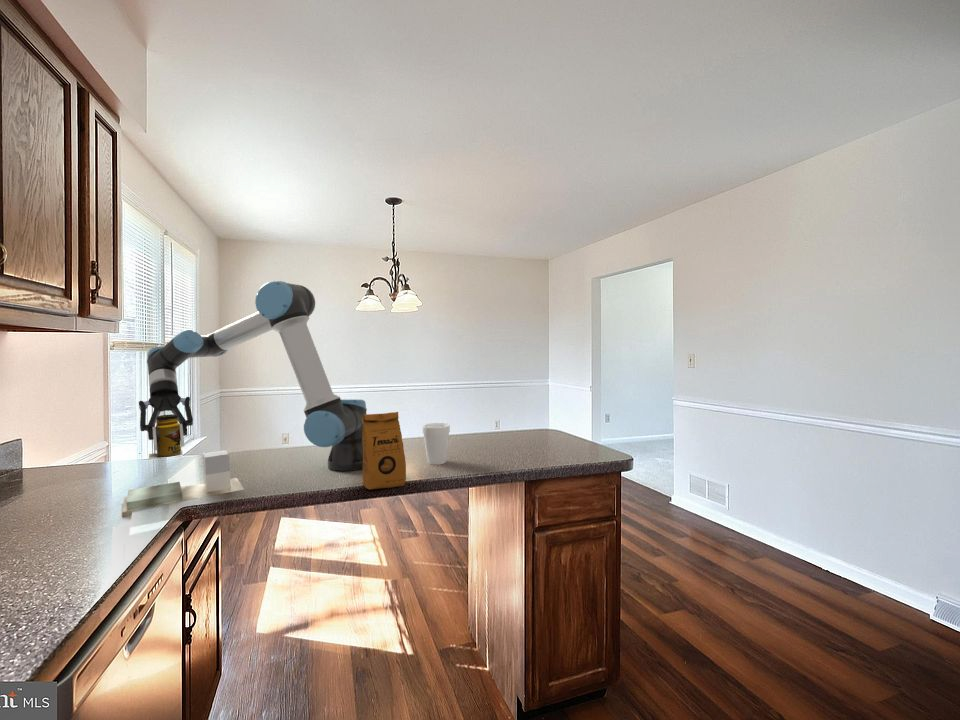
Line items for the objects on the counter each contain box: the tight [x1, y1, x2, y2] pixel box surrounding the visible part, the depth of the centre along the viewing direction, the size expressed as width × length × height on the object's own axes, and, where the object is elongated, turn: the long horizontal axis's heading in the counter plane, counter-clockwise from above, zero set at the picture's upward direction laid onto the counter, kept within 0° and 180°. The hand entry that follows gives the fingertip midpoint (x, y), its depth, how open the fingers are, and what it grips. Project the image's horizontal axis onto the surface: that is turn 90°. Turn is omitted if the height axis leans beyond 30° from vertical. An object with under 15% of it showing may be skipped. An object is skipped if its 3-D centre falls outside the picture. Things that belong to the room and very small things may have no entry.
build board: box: [121, 477, 245, 518], centre depth 132 cm, size 28×14×3 cm, turn 126°
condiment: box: [148, 413, 184, 460], centre depth 141 cm, size 7×8×12 cm
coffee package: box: [362, 411, 407, 490], centre depth 139 cm, size 10×12×22 cm
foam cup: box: [422, 422, 451, 466], centre depth 164 cm, size 10×9×13 cm
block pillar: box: [202, 449, 231, 492], centre depth 137 cm, size 6×6×10 cm
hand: (169, 445), depth 139 cm, fingers closed on condiment, 6 cm apart
